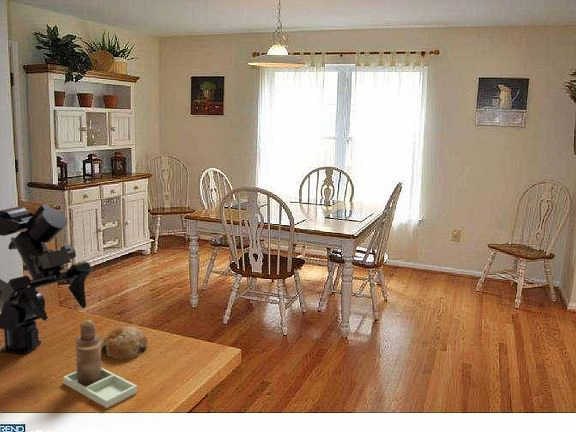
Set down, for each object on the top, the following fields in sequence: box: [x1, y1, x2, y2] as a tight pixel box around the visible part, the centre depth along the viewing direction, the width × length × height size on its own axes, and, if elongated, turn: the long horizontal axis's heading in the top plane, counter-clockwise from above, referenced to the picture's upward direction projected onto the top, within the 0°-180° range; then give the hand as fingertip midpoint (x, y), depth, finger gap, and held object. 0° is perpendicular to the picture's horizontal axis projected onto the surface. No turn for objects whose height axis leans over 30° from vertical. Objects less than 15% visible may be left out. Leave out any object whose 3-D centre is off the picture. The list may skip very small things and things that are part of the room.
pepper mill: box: [75, 319, 102, 387], centre depth 110 cm, size 5×5×14 cm
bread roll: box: [101, 325, 149, 360], centre depth 126 cm, size 10×10×8 cm
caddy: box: [63, 366, 138, 409], centre depth 109 cm, size 14×7×2 cm, turn 55°
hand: (66, 313), depth 115 cm, fingers open, 9 cm apart
